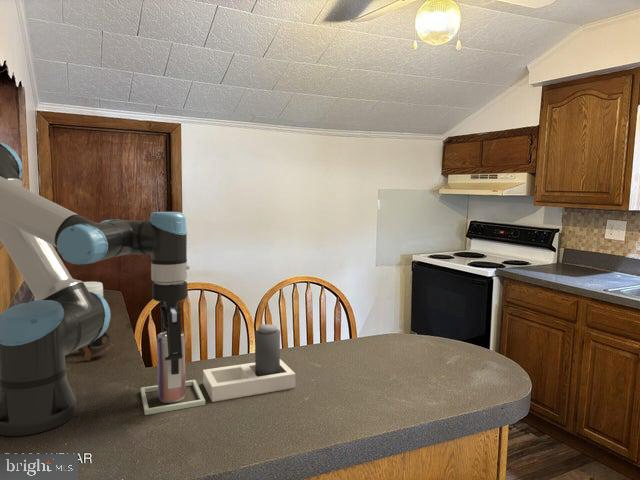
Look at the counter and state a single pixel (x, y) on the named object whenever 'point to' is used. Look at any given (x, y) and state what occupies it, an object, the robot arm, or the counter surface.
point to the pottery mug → (96, 347)
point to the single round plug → (267, 350)
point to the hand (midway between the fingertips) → (171, 378)
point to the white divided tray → (245, 381)
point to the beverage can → (162, 352)
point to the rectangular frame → (172, 406)
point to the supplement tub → (94, 287)
